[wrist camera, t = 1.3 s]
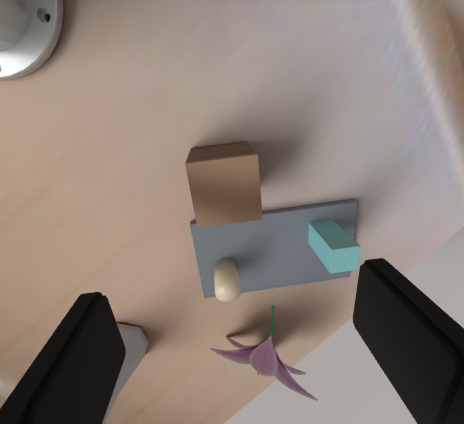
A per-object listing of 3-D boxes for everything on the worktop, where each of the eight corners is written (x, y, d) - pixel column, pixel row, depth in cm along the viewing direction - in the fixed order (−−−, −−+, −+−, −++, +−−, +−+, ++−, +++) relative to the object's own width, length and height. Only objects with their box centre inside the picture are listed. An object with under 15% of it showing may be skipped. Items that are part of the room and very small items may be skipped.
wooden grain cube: (191, 148, 23) (185, 163, 17) (245, 141, 24) (258, 154, 18) (200, 199, 26) (197, 228, 20) (249, 192, 26) (262, 219, 20)
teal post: (308, 222, 27) (331, 250, 22) (332, 219, 27) (360, 245, 22) (308, 243, 28) (330, 273, 23) (330, 239, 28) (357, 269, 23)
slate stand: (190, 221, 26) (187, 244, 22) (353, 199, 27) (381, 217, 23) (204, 293, 31) (204, 325, 26) (346, 272, 31) (368, 300, 27)
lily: (203, 298, 32) (189, 388, 26) (288, 285, 27) (295, 395, 21) (249, 323, 40) (246, 396, 34) (322, 317, 34) (334, 404, 29)
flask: (147, 320, 32) (122, 408, 22) (151, 358, 34) (131, 450, 25) (87, 322, 31) (36, 414, 22) (97, 361, 34) (56, 457, 25)
